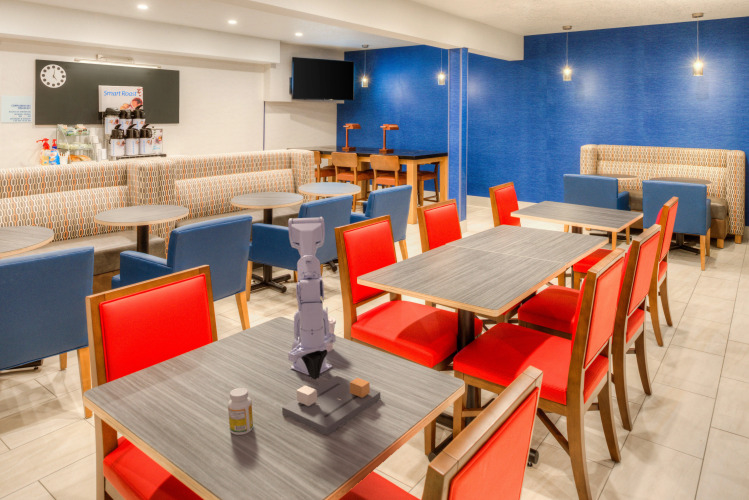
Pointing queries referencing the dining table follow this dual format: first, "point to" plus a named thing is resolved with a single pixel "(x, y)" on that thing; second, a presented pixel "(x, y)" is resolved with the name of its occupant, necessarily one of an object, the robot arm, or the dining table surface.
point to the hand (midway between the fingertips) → (314, 377)
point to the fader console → (330, 406)
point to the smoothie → (330, 330)
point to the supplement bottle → (240, 412)
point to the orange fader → (359, 387)
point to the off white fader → (306, 395)
